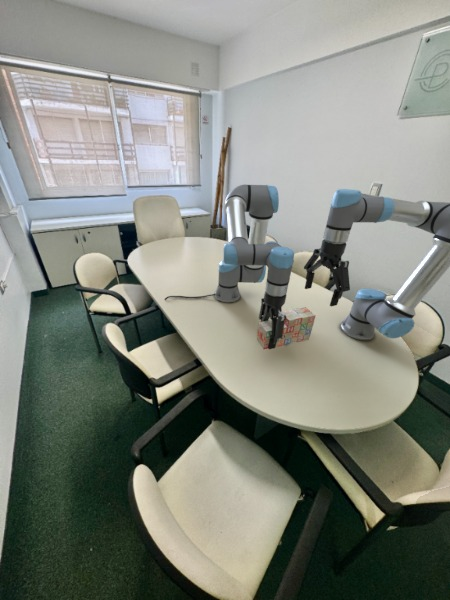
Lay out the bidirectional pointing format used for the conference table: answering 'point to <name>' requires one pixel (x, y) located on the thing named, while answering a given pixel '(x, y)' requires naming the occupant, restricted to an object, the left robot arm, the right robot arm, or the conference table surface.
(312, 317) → the stack of blocks
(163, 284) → the conference table surface
